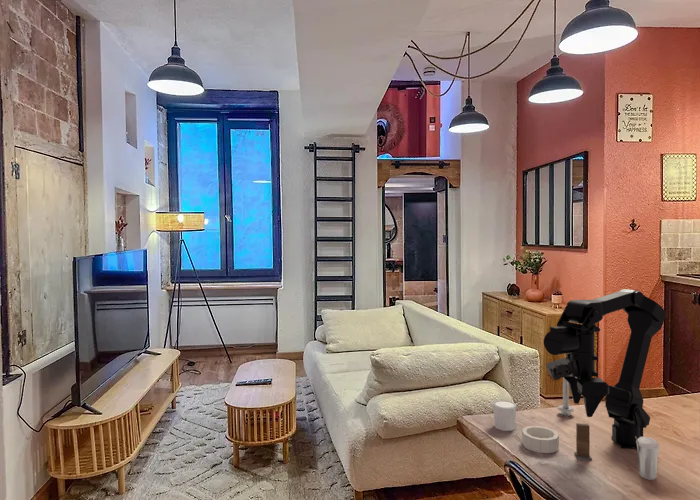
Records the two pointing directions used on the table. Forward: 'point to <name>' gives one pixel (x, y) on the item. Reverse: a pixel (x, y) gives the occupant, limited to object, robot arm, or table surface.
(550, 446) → the white bowl
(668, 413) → the table surface
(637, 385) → the robot arm
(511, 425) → the white tapered cylinder
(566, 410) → the screw
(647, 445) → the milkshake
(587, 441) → the brown wooden handle
